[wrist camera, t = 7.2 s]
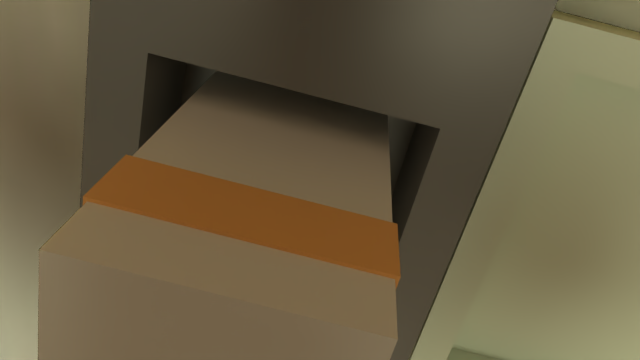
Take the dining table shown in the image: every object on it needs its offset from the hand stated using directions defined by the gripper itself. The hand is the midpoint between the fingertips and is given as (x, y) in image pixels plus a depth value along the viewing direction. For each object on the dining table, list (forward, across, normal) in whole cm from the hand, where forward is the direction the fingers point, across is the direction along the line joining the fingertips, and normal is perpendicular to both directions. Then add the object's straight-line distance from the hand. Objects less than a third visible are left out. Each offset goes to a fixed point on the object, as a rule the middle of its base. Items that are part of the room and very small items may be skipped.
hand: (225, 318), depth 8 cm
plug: (+5, 0, 0) cm, 5 cm away
